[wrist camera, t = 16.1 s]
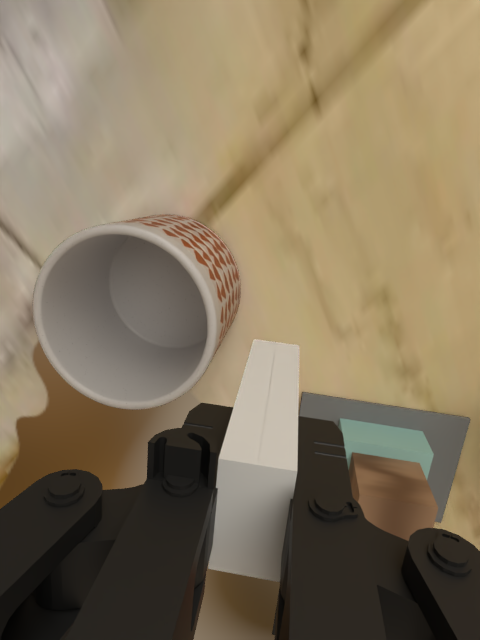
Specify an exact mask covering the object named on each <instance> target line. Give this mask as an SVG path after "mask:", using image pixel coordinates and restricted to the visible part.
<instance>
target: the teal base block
mask: <svg viewBox="0 0 480 640" xmlns="http://www.w3.org/2000/svg"><path fill="white" fill-rule="evenodd" d="M338 428H339V429H340V430H341V432H342V433H343V438H344V444H345V447H344V448H345V451H346V459H347V464H348V470H349V466H350V461H351V455H352V452H355V453H361V454H367V455H374V456H380V457H386V458H392V459H398V460H405V461H411V462H417V463H420V465H421V467H422V470H423V472H424V475H425V477H426V479H427V478H428V474H429V471H430V467H431V463H432V459H433V455H434V454H433V452H432V450H431V448H430V445H429V443H428V441H427V439H426V437H425V435H424V433H423V431H418V430H412V429H405V428H399V427H393V426H386V425H380V424H374V423H368V422H361V421H355V420H349V419H342V418H340V421H339V426H338Z"/></svg>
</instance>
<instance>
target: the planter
mask: <svg viewBox="0 0 480 640" xmlns="http://www.w3.org/2000/svg"><path fill="white" fill-rule="evenodd" d="M240 295H241V283H240V276H239V272H238V268H237V265H236V262H235V260H234V258H233V256H232V254H231V252H230V250H229V249H228V247H227V246H226V245H225V243H224V242H223V241H222V240H221V239H220V238H219V236H217V235H216V234H215V233H214V232H213V231H212V230H210V229H209V228H208V227H206V226H205V225H203V224H201V223H199V222H197V221H195V220H192V219H190V218H187V217H183V216H178V215H155V216H149V217H143V218H138V219H132V220H126V221H120V222H114V223H109V224H103V225H98V226H94V227H90V228H87V229H84V230H82V231H79V232H77V233H75V234H73V235H72V236H70V237H68V238H67V239H66V240H64V241H63V242H62V243H61V244H59V245H58V246H57V247H56V248H55V249H54V250H53V251H52V253H51V254H50V255H49V256H48V258H47V259H46V261H45V262H44V264H43V266H42V268H41V270H40V272H39V275H38V277H37V280H36V284H35V288H34V294H33V319H34V325H35V329H36V333H37V336H38V339H39V342H40V344H41V347H42V349H43V351H44V353H45V355H46V357H47V358H48V360H49V362H50V363H51V365H52V366H53V367H54V369H55V370H56V371H57V372H58V374H59V375H60V376H61V377H62V378H63V379H64V380H65V381H66V382H67V383H68V384H69V385H71V386H72V387H73V388H74V389H76V390H77V391H78V392H80V393H82V394H83V395H85V396H86V397H88V398H90V399H92V400H94V401H97V402H99V403H101V404H104V405H108V406H111V407H115V408H121V409H132V410H135V409H136V410H138V409H149V408H154V407H158V406H161V405H164V404H167V403H169V402H171V401H174V400H176V399H177V398H179V397H181V396H182V395H184V394H185V393H186V392H187V391H189V390H190V389H191V388H192V387H193V386H194V385H195V384H196V383H197V382H198V381H199V379H200V378H201V377H202V375H203V374H204V372H205V371H206V369H207V368H208V366H209V364H210V362H211V360H212V358H213V357H214V355H215V353H216V351H217V349H218V348H219V346H220V344H221V342H222V340H223V338H224V337H225V335H226V333H227V331H228V329H229V327H230V326H231V324H232V322H233V320H234V318H235V316H236V313H237V310H238V307H239V302H240Z"/></svg>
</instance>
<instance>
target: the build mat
mask: <svg viewBox="0 0 480 640" xmlns="http://www.w3.org/2000/svg"><path fill="white" fill-rule="evenodd" d="M299 416H302V417H309V418H315V419H322V420H329V421H333V422H334V423H335V424H336V425H337V427H338V426H339V421H340V418H342V419H349V420H355V421H361V422H368V423H374V424H380V425H386V426H393V427H399V428H405V429H412V430H418V431H423V433H424V435H425V437H426V439H427V441H428V443H429V445H430V448H431V450H432V452H433V454H434V455H433V459H432V463H431V467H430V471H429V474H428V478H427V482H428V484H429V487H430V489H431V491H432V494H433V496H434V499H435V501H436V504H437V506H438V511H437V515H436V519H435V522H440V523H441V521H442V518H443V514H444V511H445V507H446V504H447V500H448V497H449V493H450V490H451V486H452V483H453V479H454V476H455V472H456V469H457V465H458V461H459V458H460V454H461V451H462V447H463V444H464V440H465V437H466V433H467V430H468V426H469V423H470V418H468V417H462V416H455V415H449V414H442V413H436V412H429V411H423V410H416V409H410V408H403V407H397V406H390V405H384V404H377V403H371V402H364V401H358V400H351V399H345V398H338V397H332V396H325V395H319V394H312V393H306V392H303V393H302V399H301V406H300V412H299Z"/></svg>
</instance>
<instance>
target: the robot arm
mask: <svg viewBox="0 0 480 640" xmlns="http://www.w3.org/2000/svg"><path fill="white" fill-rule="evenodd" d="M298 401H299V345H294V344H286V343H279V342H272V341H264V340H257V339H254V340H253V343H252V347H251V350H250V354H249V357H248V360H247V364H246V367H245V371H244V374H243V377H242V381H241V384H240V388H239V391H238V394H237V398H236V401H235V404H234V408H233V407H226V406H219V405H213V404H206V403H201V404H199V405H198V406H196V407H195V408H193V409H192V410H191V411H189V414H188V415H187V418H186V420H185V422H184V425H183V426H182V428H176V429H170V430H165V431H163V432H161V433H159V434H156V435H155V436H154V437H153V438H152V439H151V440H150V441H149V442H148V463H147V480H146V481H145V483H144V484H143V485H139V486H136V487H132V488H125V489H112V490H102V484H101V482H100V480H99V478H98V477H96V476H95V475H93V474H91V473H90V472H87V471H82V470H77V469H75V470H62V471H58V472H55V473H52V474H48V475H46V476H45V477H43V478H41V479H39V480H38V481H36V482H35V483H33V484H32V485H31V486H30V487H28V488H27V489H26V490H25V491H23V492H22V493H21V494H19V495H18V496H17V497H15V498H14V499H13V500H11V501H10V502H9V503H7V504H6V505H5V506H4V507H2V508H1V509H0V640H193V639H194V634H195V630H196V625H197V621H198V617H199V612H200V608H201V604H202V600H203V595H204V588H205V578H206V571H207V566H208V562H209V567H208V568H209V569H213V570H218V571H223V572H229V573H234V574H240V575H245V576H250V577H256V578H261V579H267V580H272V581H277V582H280V589H279V595H278V601H277V607H276V613H275V619H274V626H273V632H272V634H273V635H275V640H480V551H479V550H478V549H477V548H476V547H475V546H474V545H473V544H471V543H470V542H468V541H466V540H465V539H463V538H462V537H460V536H459V535H456V534H454V533H451V532H449V531H446V530H443V529H436V528H424V529H418V530H416V531H415V532H414V533H413V534H412V535H410V538H409V541H407V540H405V539H402V538H400V537H398V536H395V535H393V534H390V533H388V532H386V531H384V530H382V529H380V528H378V527H376V526H375V525H373V524H372V523H371V522H369V521H368V520H367V519H366V518H365V516H364V513H363V511H362V508H361V506H360V504H359V503H358V502H357V501H356V500H355V499H354V498H353V495H352V489H351V483H350V476H349V470H348V464H347V459H346V451H345V448H344V447H345V444H344V438H343V433H342V432H341V430H340V429H339V428H338V427H337V425H336V424H335V423H334V422H333V421H329V420H322V419H315V418H309V417H302V416H298Z"/></svg>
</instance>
